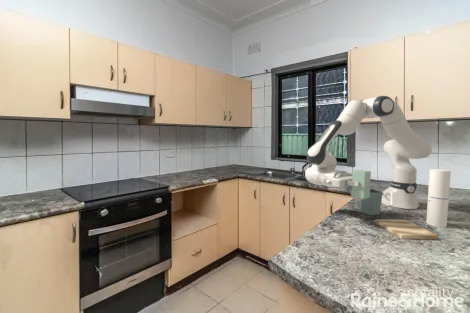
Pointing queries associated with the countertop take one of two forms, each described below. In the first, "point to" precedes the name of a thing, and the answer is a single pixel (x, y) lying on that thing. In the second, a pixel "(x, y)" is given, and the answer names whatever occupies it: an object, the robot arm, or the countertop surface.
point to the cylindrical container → (438, 197)
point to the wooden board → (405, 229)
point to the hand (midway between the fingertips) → (362, 183)
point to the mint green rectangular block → (361, 184)
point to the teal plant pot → (372, 202)
